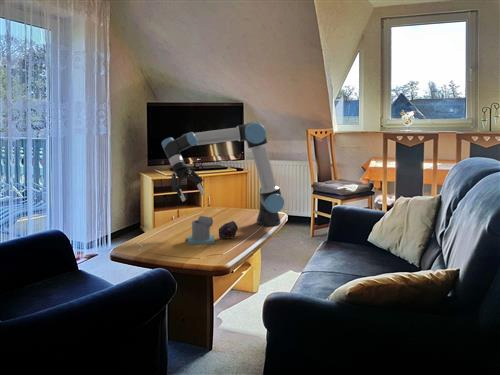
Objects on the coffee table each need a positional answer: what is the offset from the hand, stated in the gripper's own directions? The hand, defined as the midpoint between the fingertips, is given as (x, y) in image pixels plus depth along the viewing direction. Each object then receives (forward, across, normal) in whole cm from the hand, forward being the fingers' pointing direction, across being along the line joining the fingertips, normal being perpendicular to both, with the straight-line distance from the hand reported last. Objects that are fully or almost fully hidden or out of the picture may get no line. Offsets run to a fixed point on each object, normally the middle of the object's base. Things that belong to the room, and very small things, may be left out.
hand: (193, 197), depth 246 cm
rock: (+29, -8, +3) cm, 30 cm away
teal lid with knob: (+24, +8, 0) cm, 25 cm away
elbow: (+23, +8, +1) cm, 24 cm away
